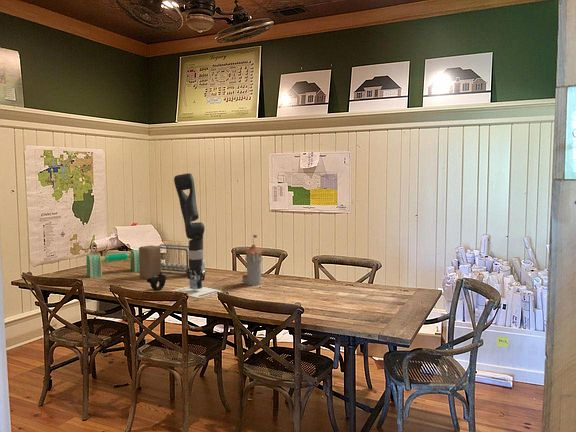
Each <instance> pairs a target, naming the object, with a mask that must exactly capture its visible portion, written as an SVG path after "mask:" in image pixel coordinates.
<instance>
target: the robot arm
mask: <svg viewBox="0 0 576 432" xmlns="http://www.w3.org/2000/svg"><path fill="white" fill-rule="evenodd" d="M194 180H195V179H194V177H193V174H192V173H189V172H188V173H183V174H177V175H175V176H174V177H173V182H174V187H175V190H176V193H177V196H178V201H179V205H180V206H179V207H180V211H181V214H182V219H183V222H184V228H185V229H184V230H185V231H184V232H185V235H186V238H187V239H188V240H189V241H188V246H189V249H188V269H187V268H185V270H186V271H187V272H186V273H187V275H186V276H187V279H188V280H189V281H190V280H191V279H195V278H197V281H198V282H197V283H198V289H199V288H201V287H203V282H204V281H205V277H206V270H205V269H206V266H205V265H206V264H205V259H204V233H205V225H204V223H203V222H201V221H200V222H195V221H197V220H199V211H198V207H197V200H196V188H195V181H194ZM186 190H189V193H188V194H186V193H185V192H184V191H186ZM199 279H200V280H199Z"/></svg>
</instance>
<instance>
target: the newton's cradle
mask: <svg viewBox="0 0 576 432" xmlns="http://www.w3.org/2000/svg"><path fill="white" fill-rule="evenodd" d="M158 246H159V247H160V255H161V259H162V260H164V258H165V257H166V256H165V255H166V254H168V253H167V252H168V251H167V250H174V252H173V253H174V254H173V255H175V256H176V257H175V258H178V257H177V254H176V251H177V250H178V251H179V252H182V251H184V252H185V255H186V256H185V260H186V261H185V262H186V265H185V264H184V263H181V264H180V263H179V261H180V259H177V261H176V263H175V261H174V259H171V260H172V263H170V262H167V263H166V262H165V261H162V262H161V272H163V273H162V274H169V275H177V276H178V275H179V276H181V275H182V276H187V271H186V269H188V268H189V245H179V244H178V245H175V244H162V243H161V244H159V245H158ZM162 249H163V250H165V254H164V256H162V252H163V251H162ZM173 255H172V252H170V253H169V257H166V258H167V260H169V258H170V256H173ZM181 259H182V261H184V257H182V256H181ZM162 269H163V271H162ZM172 270H173V272H172ZM174 271H175V272H174ZM183 271H185V272H186V273H185V272H184V273H183Z"/></svg>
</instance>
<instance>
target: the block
mask: <svg viewBox="0 0 576 432" xmlns="http://www.w3.org/2000/svg"><path fill="white" fill-rule="evenodd" d="M138 250H139V268H140V271H139V278H141V279H145V280H147V279H148V278H151V277H155V276H158V275H159V274H160V273H159V272H161V271H162V269H161V263H162V260H161V259H162V254H161V255H160V250H161V248H160V247H159V245H145V246H140V247H138Z"/></svg>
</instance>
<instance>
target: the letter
mask: <svg viewBox="0 0 576 432" xmlns="http://www.w3.org/2000/svg"><path fill="white" fill-rule="evenodd" d="M171 291H179V292H185V293H187V294H188V295H187V296H189V297H192V298H196V299H200V298H205V297H207V296H211V295H214V294H218V293H217V292H219V293H222V292H223V291H222V290H219V289H216V288H215V289H214V288H210V287H206V286H202V288H201V289H197V290H194V289H190V285H188V286H185V287H181V288H176V289H173V290H171Z"/></svg>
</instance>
